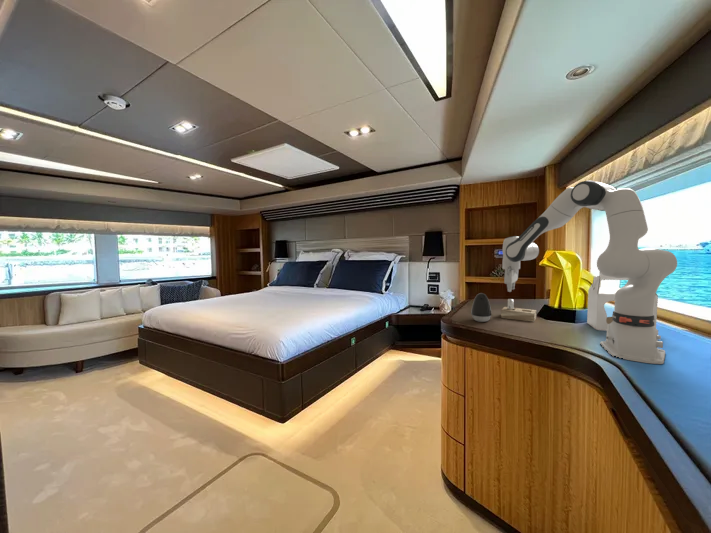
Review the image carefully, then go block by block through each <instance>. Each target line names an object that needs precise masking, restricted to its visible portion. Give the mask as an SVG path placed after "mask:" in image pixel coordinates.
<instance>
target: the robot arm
mask: <svg viewBox="0 0 711 533" xmlns="http://www.w3.org/2000/svg"><path fill="white" fill-rule="evenodd" d="M583 208H586V209H590V210H595V211H601V212H602V211H603V212H605V216H606V222H607V226H608V233H609V241H608V244H607V247H606V249H605V250H604V251H603V252H602V253H601V254H600V255H599V256H598V258H597V260H596V268H597V270H598V272H599V274H600V273H601V274H603V275H605V276H609V277H615V278H629V280H627V282H626V283H625V284H624V285H623V286H622V287H619V288H620V289H618V290H617V291H616V293H615V301H614V310H613V311H612V314H611V317H612V320H613V322H611V323H610V324H608V325H607V331H606V335H605V336H606V337H605V338H606V339H605V340H603V341H600V343H599V345H600V344H601V345H602V346H601V345H600V346H601V347H602V348H603V347H604V348H603V350H605V351H606V350H607V351H608V352H607V351H606V352H607V353H608V355H610V354H611V355H612V356H611V355H610V356H611V357H614V356H616V357H615V358H617V357H619V358H618V359H621V358H623V359H622V360H626V361H627V360H628V361H631V362H639V363H646V364H655V365H663V364H665V359H666V350H665V349H663V346H664V341H661V339H662V335H659V330H658V328H657V327H656V328H655V327H654V322H655V319H654V315H653V307H654V298H655V294H657V292H658V289H659V287H660V286H661V284H662V283H663V281H664V280H665V279H666V278H667V277H668V276H669V275H671V274H673V273H674V272H675V271H676V269H677V267H678V260H677V259H678V258H677V257H676V255H675V254H674V253H672V252H671V251H669V250H664V249H660V248H639V247H638V246H639V245H638V244H639V241H640V240H639V239H642V238H643V237H645V235H646V234H647V233H648V230H649V227H648V224H647V220H646V216H645V212H644V208H643V205H642V203H641V199H640V197H639V196H638V194H637V192H636V191H635V190H634V189H631V188H625V187H624V188H617V187H615V186H612V185H609V184H606V183H604V182H600V181H594V180H583V181H580V182H578V183H577V184H575V185H574V186H573V187H572V186H571V187H567V188H566V189H564V191H562V192H561V193H560V194H559V195H558V196H557V197H556V198H555V199H554V200H553V201H552V202H551V204H550V205H549V206H548V207H547V208H546V210H545V211H544V212H543V213H542V214H540V215H539V216H538V218H536V219H535V220H534V221H533V222H531V224H530V225H529V226H528V227H527V228H526V229H525V230H524V231H523V232H522V233H521V234H520V235H519V236H517V235H513V236H508V237H505V238H504V239H503V243H502V256H503V257H502V266H501V268H502V270H504V277H503V278H504V281H503V282H504V284H505V285H506V289H507V292H509V293H511V292H512V290H513V291H514V290H515V289H516V288H515V286H516V282H517V281H518V279H519V270H521V261H524V262H525V261H531V260H535V259H536V258H537V257H538V256H539V254H540V247H539V246H538V245H537V243H535V242H534V241H535V240H536V239H538V238H539V236H541V235H542V234H544V233H546V232H549V231H552V230H556V229H560V228H562V227H564V226H565V225H566V224H567V223H569V222H570V221H571V220H572V219H573V218H574V216H575V215H576V214H577V213H578V212H579V211H580V210H581V209H583Z"/></svg>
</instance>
